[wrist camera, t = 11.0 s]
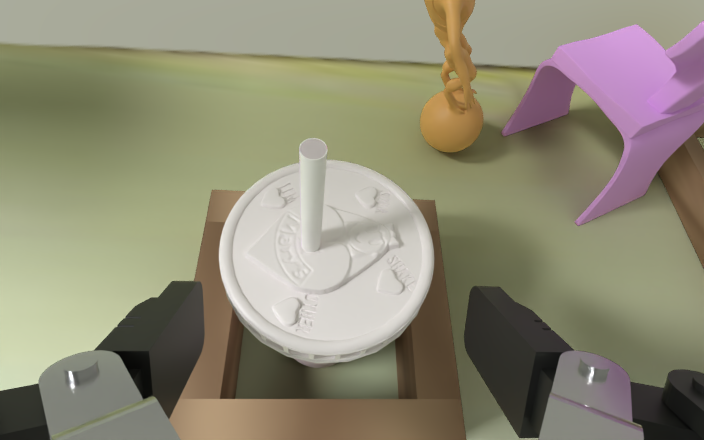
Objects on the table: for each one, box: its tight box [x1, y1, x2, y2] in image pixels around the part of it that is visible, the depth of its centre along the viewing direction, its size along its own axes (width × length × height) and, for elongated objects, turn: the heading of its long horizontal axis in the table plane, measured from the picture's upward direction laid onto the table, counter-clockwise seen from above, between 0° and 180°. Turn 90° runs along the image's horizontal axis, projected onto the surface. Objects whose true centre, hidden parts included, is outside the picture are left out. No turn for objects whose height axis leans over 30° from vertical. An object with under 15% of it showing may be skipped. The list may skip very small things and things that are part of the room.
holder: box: [169, 190, 466, 440], centre depth 19 cm, size 11×11×4 cm
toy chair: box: [501, 21, 704, 226], centre depth 22 cm, size 8×9×15 cm
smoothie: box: [219, 138, 434, 368], centre depth 14 cm, size 6×6×14 cm
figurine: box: [420, 0, 483, 152], centre depth 23 cm, size 8×6×12 cm
